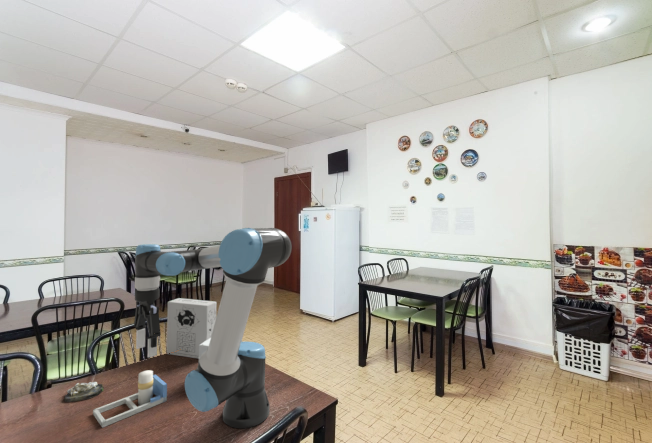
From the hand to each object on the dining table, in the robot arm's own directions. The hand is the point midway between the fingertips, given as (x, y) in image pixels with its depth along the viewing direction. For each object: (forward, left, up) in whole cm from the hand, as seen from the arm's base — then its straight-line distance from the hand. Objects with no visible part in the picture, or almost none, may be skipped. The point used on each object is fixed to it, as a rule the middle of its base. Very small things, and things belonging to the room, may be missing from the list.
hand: (146, 351), depth 109 cm
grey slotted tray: (0, +4, -18) cm, 18 cm away
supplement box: (-3, -25, -18) cm, 31 cm away
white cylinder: (0, 0, -18) cm, 18 cm away
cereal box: (+26, -30, -18) cm, 43 cm away
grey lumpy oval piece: (+22, +13, -18) cm, 31 cm away
